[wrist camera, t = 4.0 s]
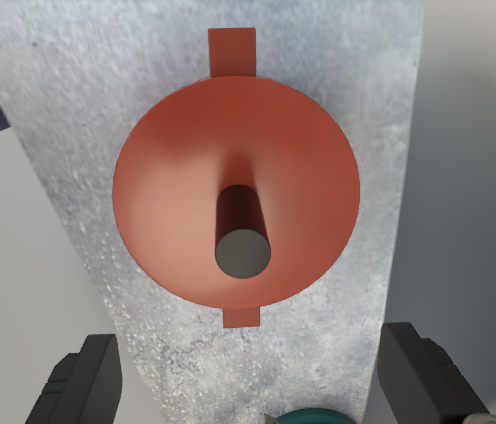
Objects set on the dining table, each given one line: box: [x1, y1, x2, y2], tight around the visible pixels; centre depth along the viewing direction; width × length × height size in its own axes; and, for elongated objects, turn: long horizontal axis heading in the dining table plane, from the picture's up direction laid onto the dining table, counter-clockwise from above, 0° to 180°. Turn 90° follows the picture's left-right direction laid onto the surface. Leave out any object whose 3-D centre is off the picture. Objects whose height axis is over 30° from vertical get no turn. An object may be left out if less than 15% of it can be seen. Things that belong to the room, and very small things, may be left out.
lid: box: [112, 75, 360, 309], centre depth 22 cm, size 14×14×7 cm
